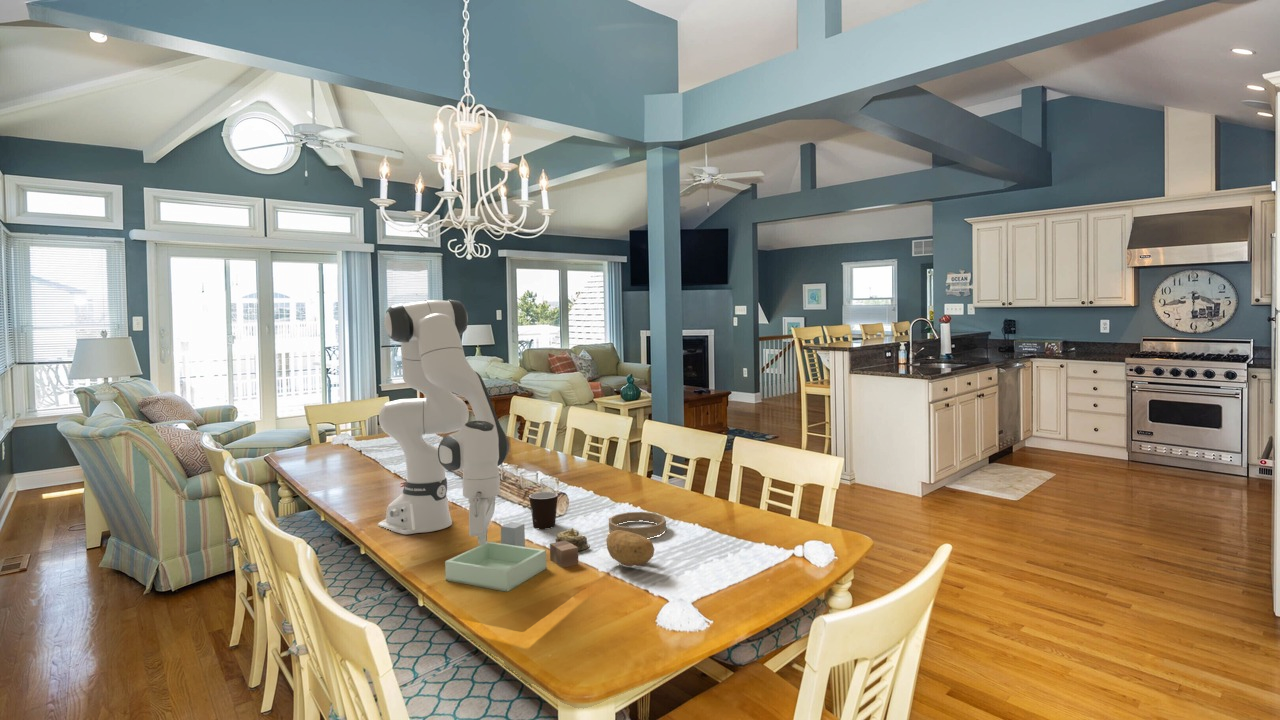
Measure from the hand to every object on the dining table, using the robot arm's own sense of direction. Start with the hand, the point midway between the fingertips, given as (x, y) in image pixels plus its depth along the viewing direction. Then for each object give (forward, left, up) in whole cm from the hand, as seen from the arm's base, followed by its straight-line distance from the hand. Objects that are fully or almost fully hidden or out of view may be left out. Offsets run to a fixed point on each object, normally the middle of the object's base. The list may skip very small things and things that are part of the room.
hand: (482, 543), depth 157 cm
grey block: (-3, +16, -7) cm, 18 cm away
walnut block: (+12, +16, -5) cm, 20 cm away
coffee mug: (-7, +38, -7) cm, 40 cm away
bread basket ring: (+21, +44, -7) cm, 50 cm away
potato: (+31, +19, -7) cm, 37 cm away
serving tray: (+4, 0, -7) cm, 8 cm away
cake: (+10, +25, -8) cm, 28 cm away
